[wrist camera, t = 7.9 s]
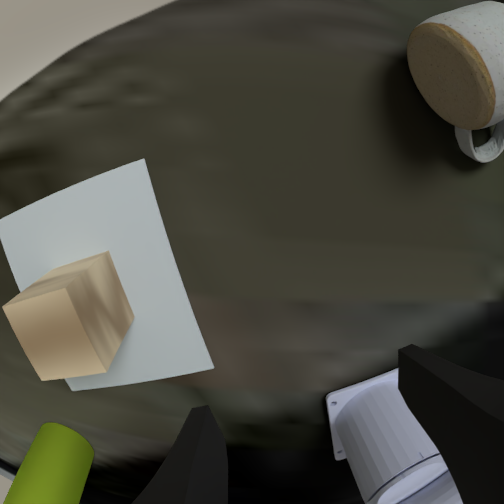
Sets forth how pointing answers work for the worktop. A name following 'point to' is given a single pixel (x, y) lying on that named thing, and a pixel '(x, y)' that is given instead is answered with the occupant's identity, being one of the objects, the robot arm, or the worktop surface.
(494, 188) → the worktop surface
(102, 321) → the maple block
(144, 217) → the blue-grey mat
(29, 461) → the soap dispenser
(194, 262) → the worktop surface
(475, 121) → the ceramic mug
